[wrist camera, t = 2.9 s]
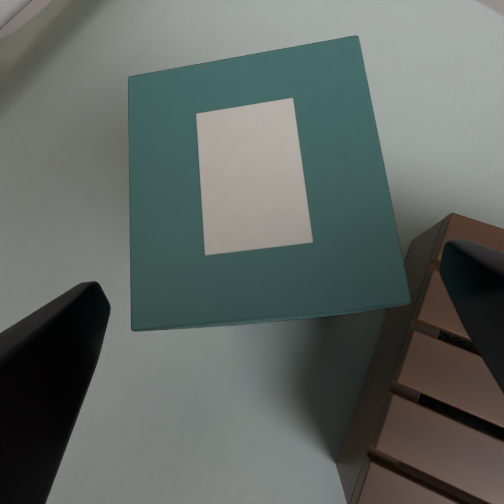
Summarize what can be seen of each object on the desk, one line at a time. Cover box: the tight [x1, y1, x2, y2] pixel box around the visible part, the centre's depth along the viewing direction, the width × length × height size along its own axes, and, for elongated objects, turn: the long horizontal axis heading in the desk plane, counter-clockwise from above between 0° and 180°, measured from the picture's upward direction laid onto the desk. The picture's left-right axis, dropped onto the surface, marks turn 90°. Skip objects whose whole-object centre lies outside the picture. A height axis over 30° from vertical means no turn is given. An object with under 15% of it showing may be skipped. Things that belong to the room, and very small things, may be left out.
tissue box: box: [128, 36, 411, 332], centre depth 13 cm, size 7×6×11 cm
